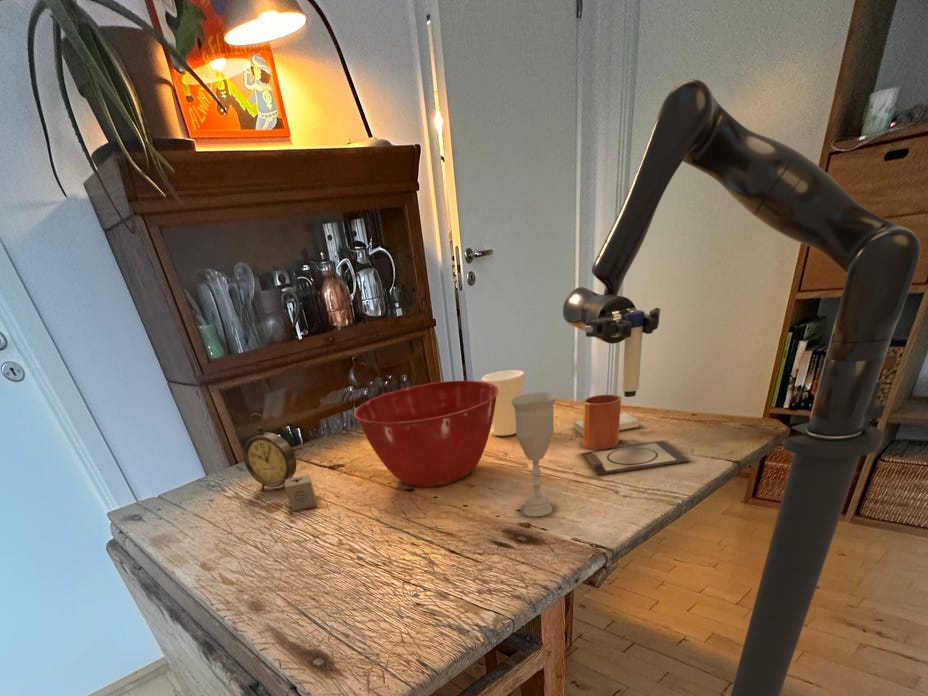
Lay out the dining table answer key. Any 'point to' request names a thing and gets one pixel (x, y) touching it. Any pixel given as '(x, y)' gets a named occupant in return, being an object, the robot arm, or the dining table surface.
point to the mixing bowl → (430, 430)
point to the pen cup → (601, 421)
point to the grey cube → (300, 492)
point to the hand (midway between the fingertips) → (640, 328)
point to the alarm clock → (269, 458)
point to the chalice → (535, 440)
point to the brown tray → (633, 458)
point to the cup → (505, 399)
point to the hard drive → (625, 423)
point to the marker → (633, 354)
